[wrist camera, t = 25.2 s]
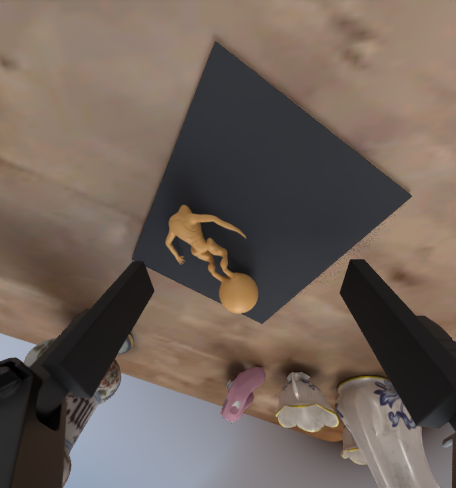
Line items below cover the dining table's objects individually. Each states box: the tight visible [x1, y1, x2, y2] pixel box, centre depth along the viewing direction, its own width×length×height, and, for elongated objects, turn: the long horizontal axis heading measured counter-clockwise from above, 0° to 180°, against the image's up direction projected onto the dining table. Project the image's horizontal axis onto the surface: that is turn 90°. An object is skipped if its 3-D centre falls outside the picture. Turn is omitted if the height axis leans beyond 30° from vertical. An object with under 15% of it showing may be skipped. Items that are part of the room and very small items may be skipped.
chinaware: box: [274, 372, 440, 488], centre depth 25 cm, size 28×17×17 cm, turn 53°
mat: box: [132, 41, 412, 324], centre depth 18 cm, size 18×20×1 cm
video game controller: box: [220, 367, 266, 423], centre depth 30 cm, size 10×5×7 cm, turn 171°
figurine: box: [165, 205, 258, 313], centre depth 18 cm, size 8×6×12 cm
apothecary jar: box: [24, 316, 133, 488], centre depth 22 cm, size 12×12×18 cm
